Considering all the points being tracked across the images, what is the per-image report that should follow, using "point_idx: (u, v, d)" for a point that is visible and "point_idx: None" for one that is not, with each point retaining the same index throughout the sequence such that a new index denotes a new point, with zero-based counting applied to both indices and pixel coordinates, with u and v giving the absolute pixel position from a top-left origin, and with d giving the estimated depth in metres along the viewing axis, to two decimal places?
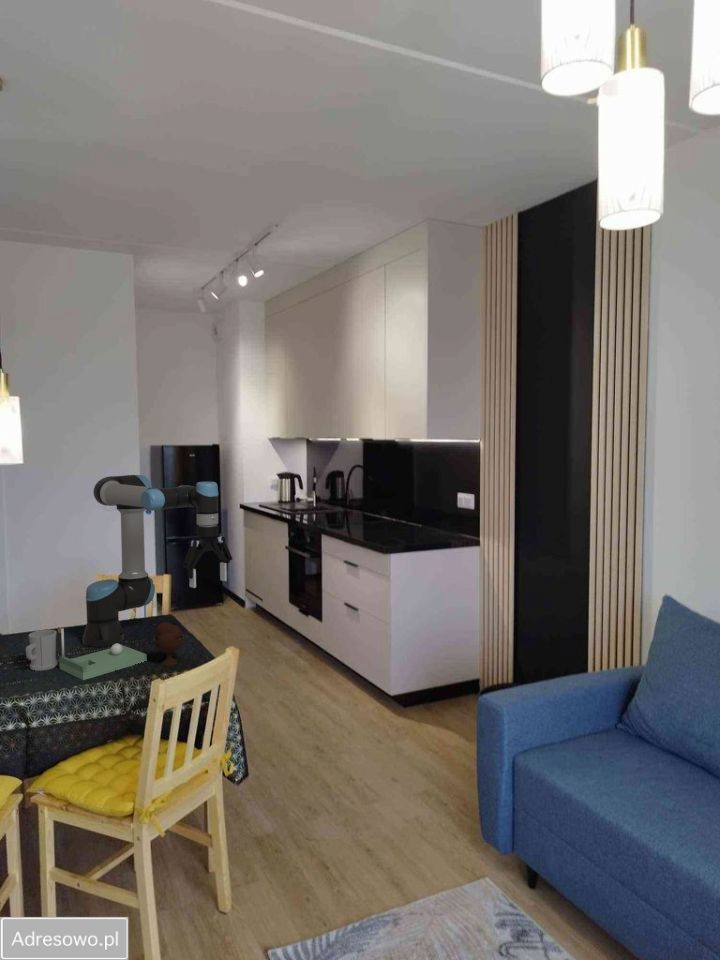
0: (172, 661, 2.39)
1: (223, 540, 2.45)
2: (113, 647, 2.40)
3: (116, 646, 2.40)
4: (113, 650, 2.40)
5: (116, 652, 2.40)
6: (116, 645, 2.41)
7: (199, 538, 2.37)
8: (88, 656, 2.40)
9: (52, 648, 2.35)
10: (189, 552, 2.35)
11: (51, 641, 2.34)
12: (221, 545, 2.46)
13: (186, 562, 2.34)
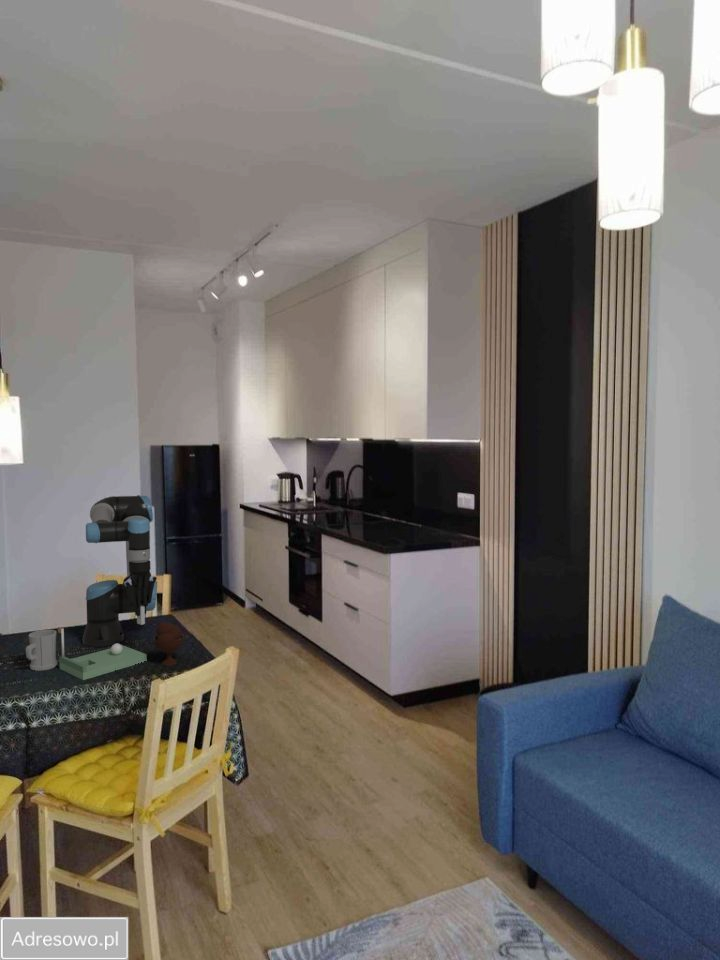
0: (172, 661, 2.39)
1: (154, 580, 2.51)
2: (113, 647, 2.40)
3: (116, 646, 2.40)
4: (113, 650, 2.40)
5: (116, 652, 2.40)
6: (116, 645, 2.41)
7: (131, 573, 2.44)
8: (88, 656, 2.40)
9: (52, 648, 2.35)
10: (128, 592, 2.44)
11: (51, 641, 2.34)
12: (149, 584, 2.51)
13: (131, 602, 2.45)
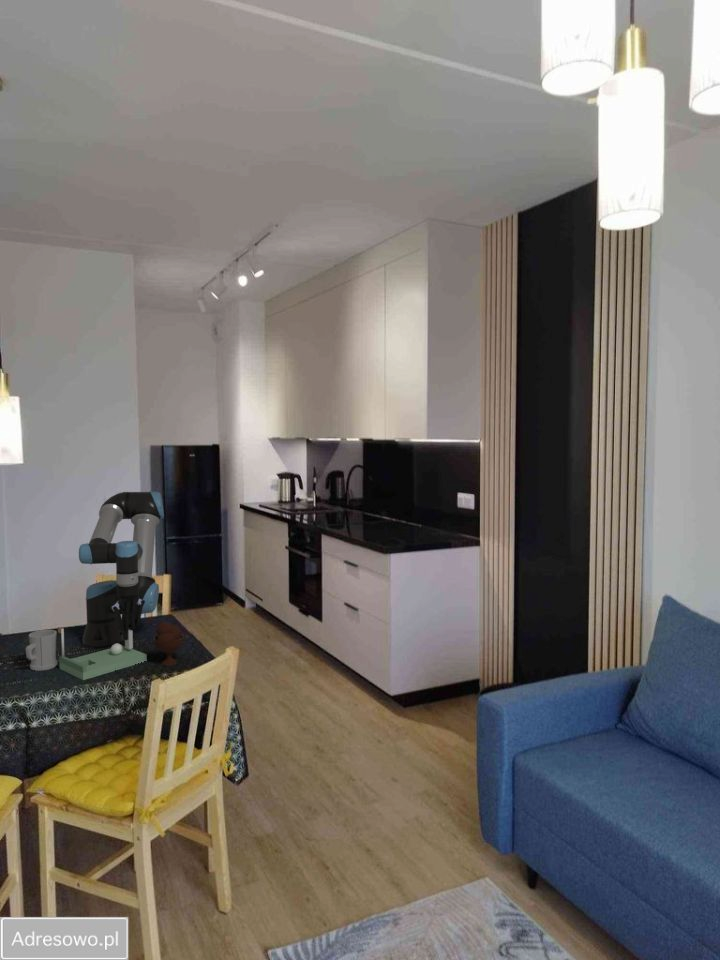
0: (172, 661, 2.39)
1: (142, 603, 2.48)
2: (113, 647, 2.40)
3: (116, 646, 2.40)
4: (113, 650, 2.40)
5: (116, 652, 2.40)
6: (116, 645, 2.41)
7: (118, 597, 2.41)
8: (88, 656, 2.40)
9: (52, 648, 2.35)
10: (116, 617, 2.41)
11: (51, 641, 2.34)
12: (137, 608, 2.48)
13: (119, 626, 2.42)
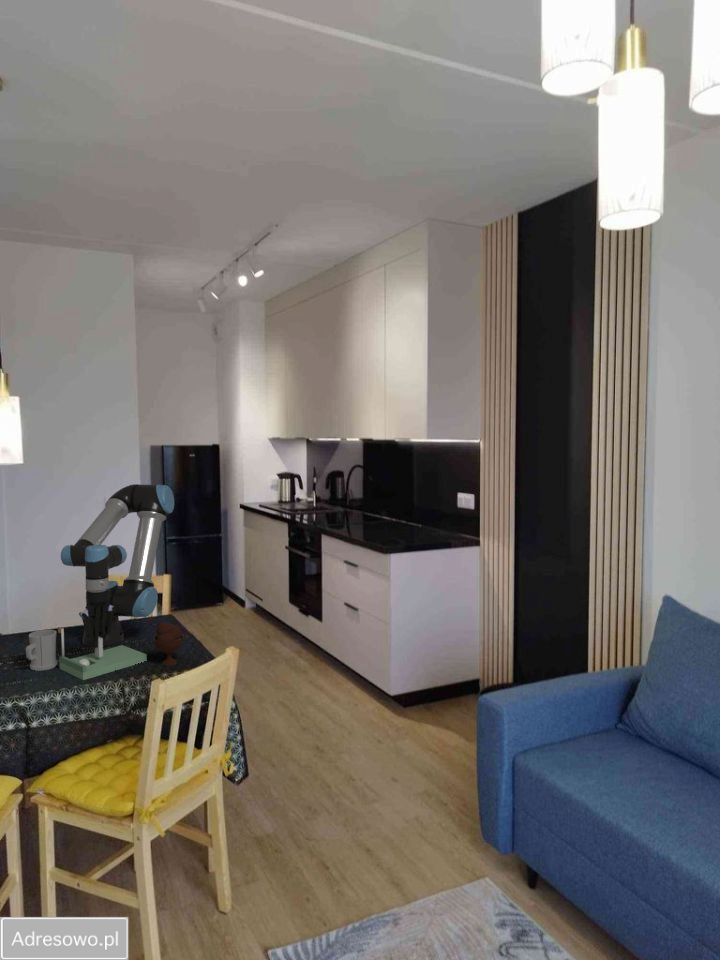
0: (172, 661, 2.39)
1: (113, 610, 2.39)
2: None
3: (81, 663, 2.30)
4: None
5: None
6: (81, 662, 2.31)
7: (87, 604, 2.32)
8: (88, 656, 2.40)
9: (52, 648, 2.35)
10: (85, 624, 2.32)
11: (51, 641, 2.34)
12: (108, 614, 2.39)
13: (88, 633, 2.33)
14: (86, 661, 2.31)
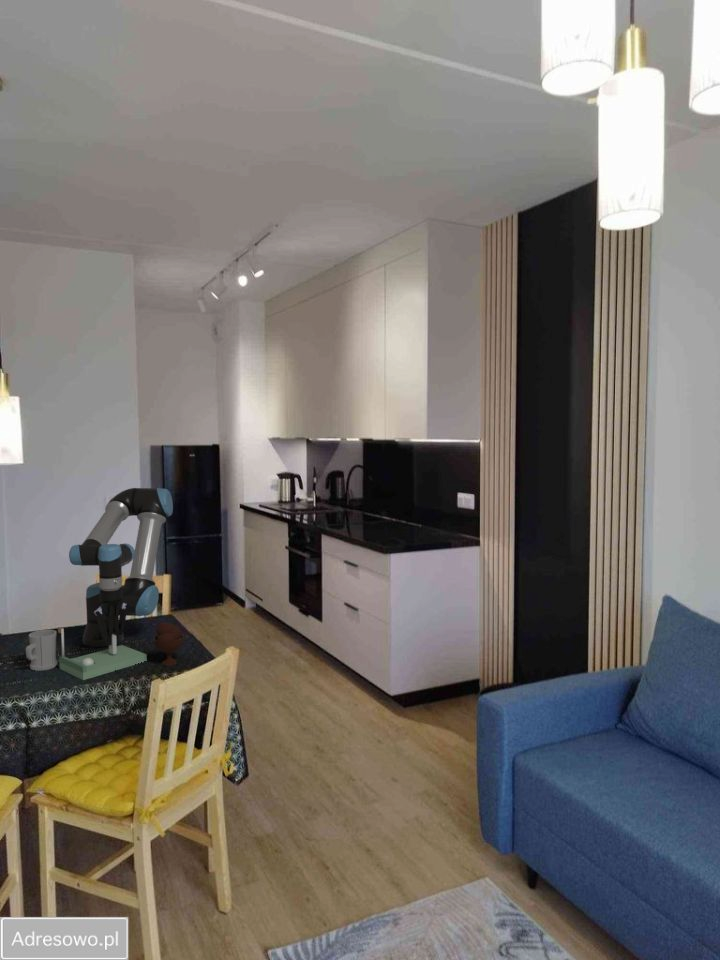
0: (172, 661, 2.39)
1: (126, 608, 2.43)
2: (85, 660, 2.32)
3: (88, 660, 2.32)
4: (84, 663, 2.31)
5: None
6: (89, 659, 2.32)
7: (101, 602, 2.36)
8: (88, 656, 2.40)
9: (52, 648, 2.35)
10: (99, 622, 2.36)
11: (51, 641, 2.34)
12: (121, 612, 2.43)
13: (102, 631, 2.37)
14: (92, 661, 2.33)
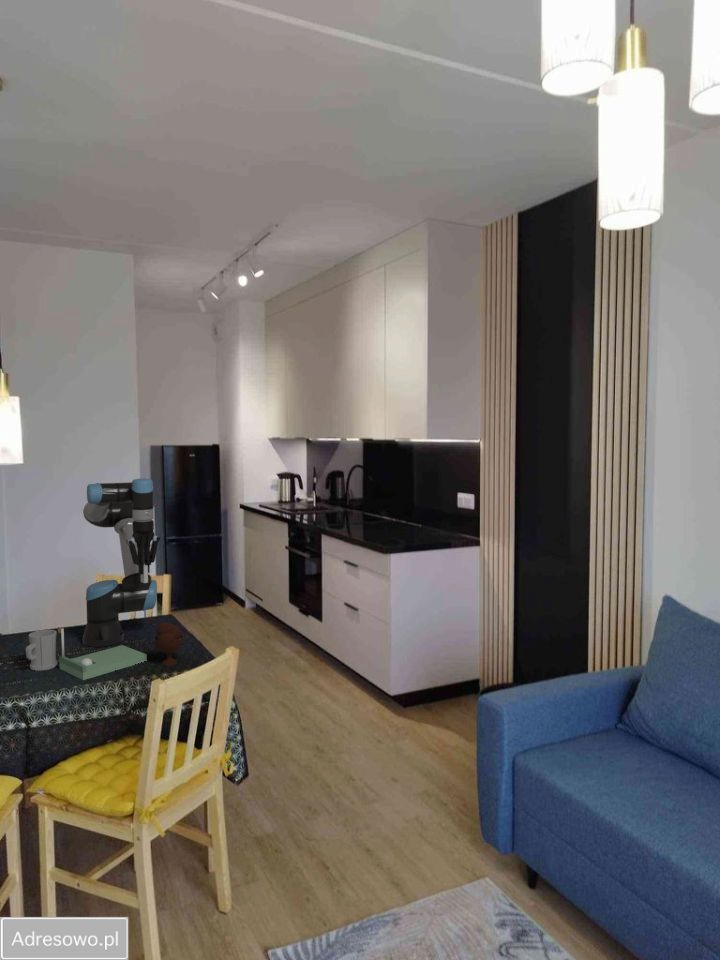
0: (172, 661, 2.39)
1: (157, 540, 2.55)
2: (83, 661, 2.31)
3: (86, 661, 2.31)
4: None
5: None
6: (86, 660, 2.32)
7: (134, 532, 2.49)
8: (88, 656, 2.40)
9: (52, 648, 2.35)
10: (131, 551, 2.49)
11: (51, 641, 2.34)
12: (152, 544, 2.56)
13: (134, 560, 2.50)
14: (91, 661, 2.32)
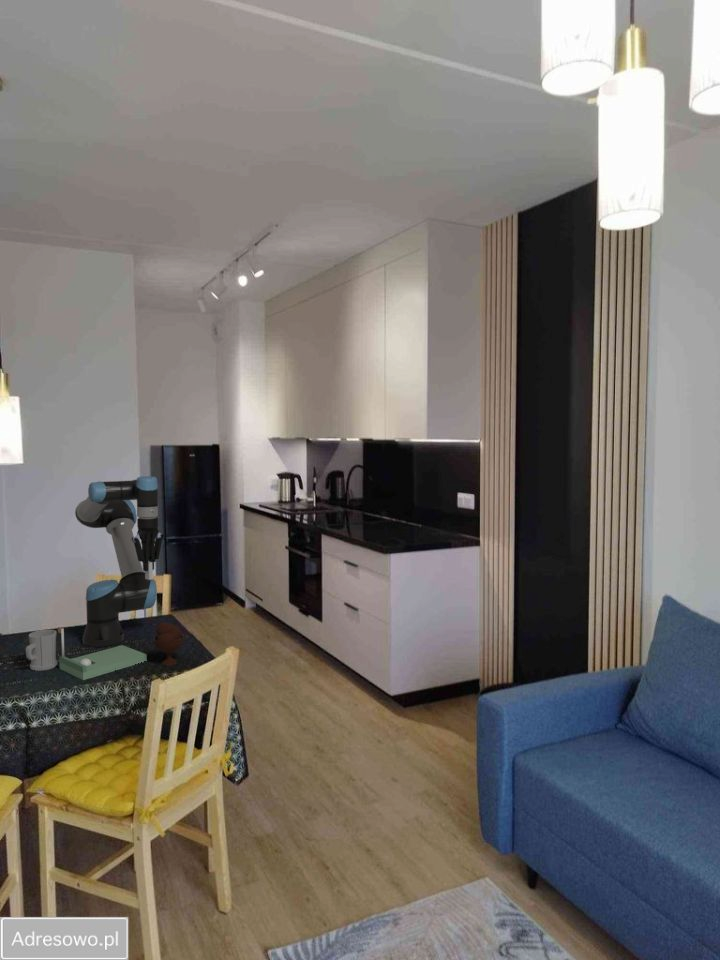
0: (172, 661, 2.39)
1: (161, 537, 2.58)
2: (81, 663, 2.31)
3: (84, 662, 2.31)
4: None
5: None
6: (85, 661, 2.31)
7: (139, 529, 2.52)
8: (88, 656, 2.40)
9: (52, 648, 2.35)
10: (137, 548, 2.52)
11: (51, 641, 2.34)
12: (157, 541, 2.58)
13: (139, 557, 2.52)
14: (89, 661, 2.32)
